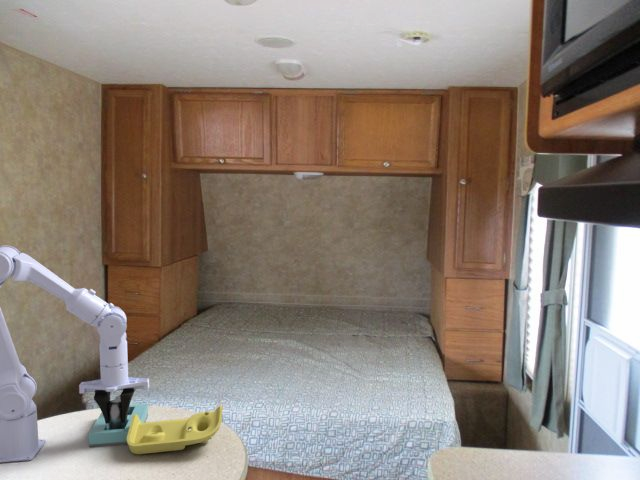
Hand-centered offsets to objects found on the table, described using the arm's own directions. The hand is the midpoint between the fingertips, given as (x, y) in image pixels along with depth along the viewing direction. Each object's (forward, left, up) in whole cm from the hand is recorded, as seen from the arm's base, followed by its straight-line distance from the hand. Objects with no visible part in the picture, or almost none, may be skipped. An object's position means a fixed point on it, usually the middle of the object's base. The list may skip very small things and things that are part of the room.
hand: (116, 421), depth 113 cm
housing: (0, +4, -4) cm, 5 cm away
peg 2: (0, 0, -2) cm, 2 cm away
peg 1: (0, +7, -3) cm, 8 cm away
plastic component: (+14, -5, -4) cm, 15 cm away
